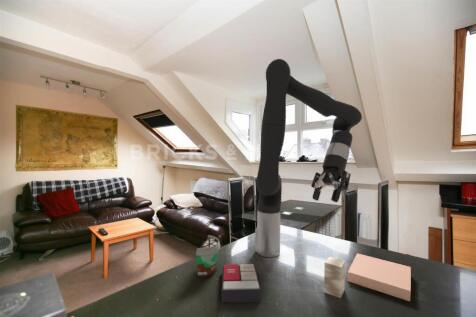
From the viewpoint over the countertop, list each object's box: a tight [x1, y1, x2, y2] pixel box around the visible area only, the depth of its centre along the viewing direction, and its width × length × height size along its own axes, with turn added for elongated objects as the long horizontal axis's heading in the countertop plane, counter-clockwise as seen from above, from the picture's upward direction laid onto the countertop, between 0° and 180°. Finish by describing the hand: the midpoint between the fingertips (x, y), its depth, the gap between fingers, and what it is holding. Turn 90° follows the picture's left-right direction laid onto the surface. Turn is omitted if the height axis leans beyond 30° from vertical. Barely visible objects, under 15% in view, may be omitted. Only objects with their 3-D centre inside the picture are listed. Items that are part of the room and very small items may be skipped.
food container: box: [195, 234, 221, 278], centre depth 79 cm, size 12×6×10 cm, turn 168°
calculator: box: [221, 263, 262, 304], centre depth 70 cm, size 11×4×15 cm
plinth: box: [347, 253, 412, 302], centre depth 74 cm, size 16×16×3 cm
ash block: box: [323, 256, 346, 299], centre depth 67 cm, size 5×5×9 cm
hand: (324, 200), depth 77 cm, fingers open, 8 cm apart
